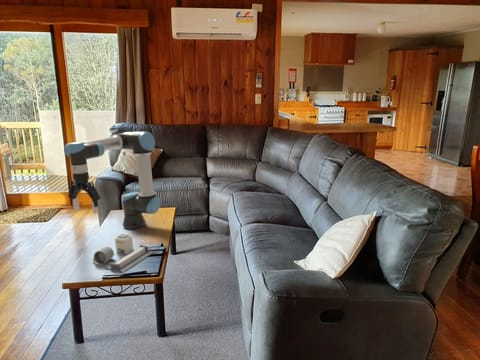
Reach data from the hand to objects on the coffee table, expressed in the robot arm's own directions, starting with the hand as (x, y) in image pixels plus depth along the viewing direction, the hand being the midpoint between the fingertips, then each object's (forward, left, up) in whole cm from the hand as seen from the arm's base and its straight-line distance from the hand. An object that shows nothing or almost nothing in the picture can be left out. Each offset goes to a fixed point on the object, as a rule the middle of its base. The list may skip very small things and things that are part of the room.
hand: (86, 211), depth 184 cm
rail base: (-6, +21, -28) cm, 35 cm away
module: (-14, +10, -28) cm, 33 cm away
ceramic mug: (0, +7, -28) cm, 29 cm away
